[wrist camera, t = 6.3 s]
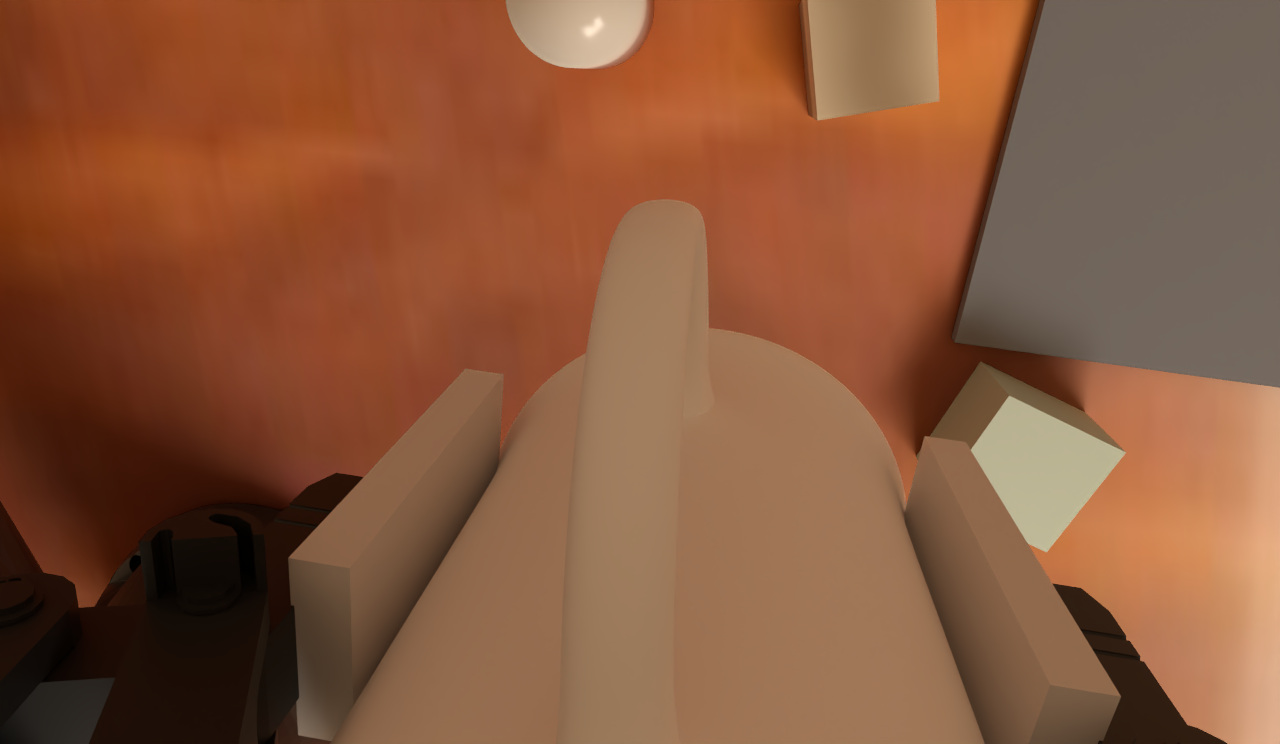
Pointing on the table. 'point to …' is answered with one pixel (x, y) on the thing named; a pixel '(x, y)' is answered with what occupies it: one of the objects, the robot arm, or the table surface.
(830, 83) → the maple block
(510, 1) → the beige rounded block
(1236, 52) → the coaster
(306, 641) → the robot arm
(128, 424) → the table surface
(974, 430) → the sage block
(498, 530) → the mug
